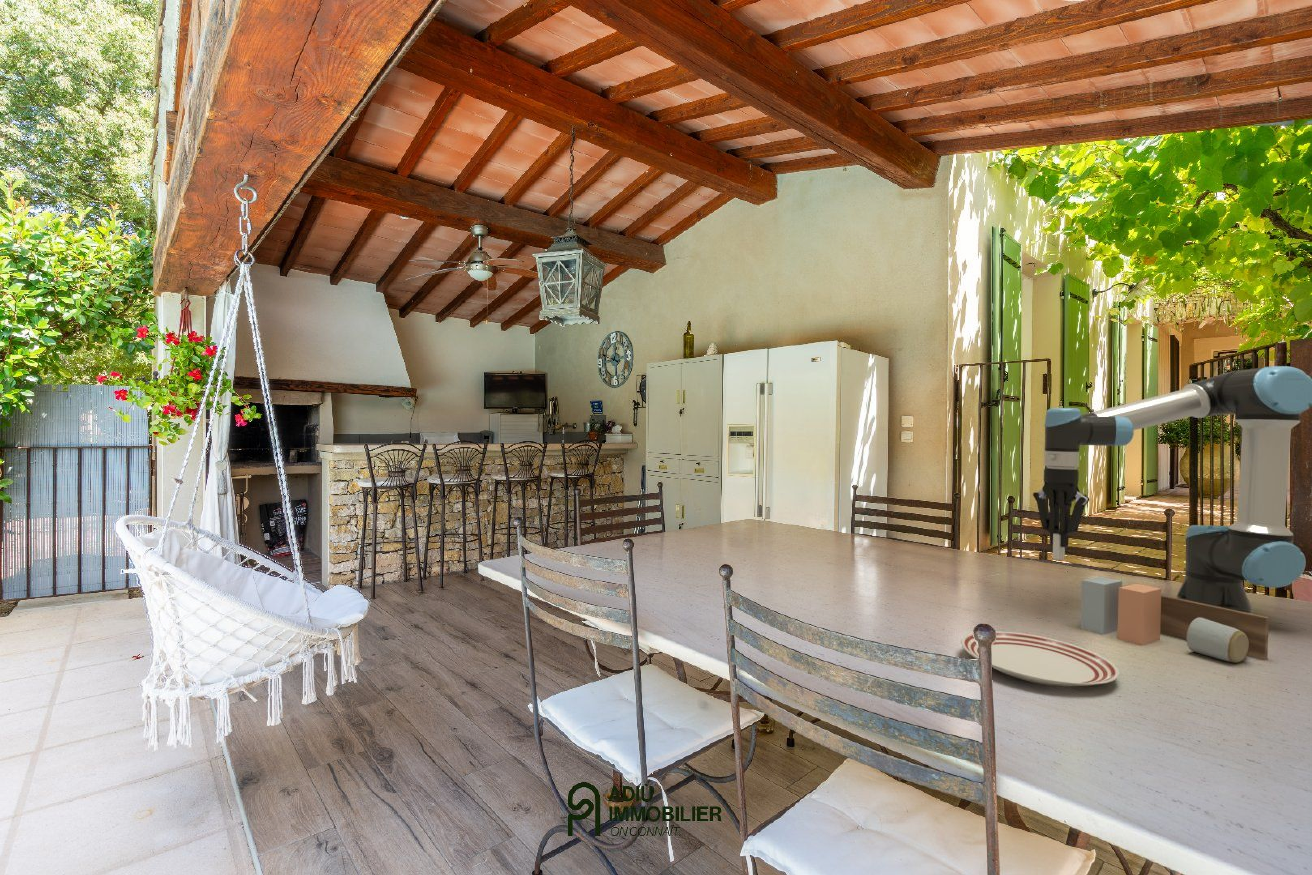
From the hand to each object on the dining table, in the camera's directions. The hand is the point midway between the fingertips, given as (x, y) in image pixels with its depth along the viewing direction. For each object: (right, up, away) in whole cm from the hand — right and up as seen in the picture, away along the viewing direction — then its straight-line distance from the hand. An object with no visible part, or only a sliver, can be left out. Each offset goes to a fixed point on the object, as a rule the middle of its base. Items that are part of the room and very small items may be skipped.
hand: (1058, 558), depth 159 cm
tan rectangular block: (+8, -16, -16) cm, 24 cm away
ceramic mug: (+18, -16, -26) cm, 35 cm away
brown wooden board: (+19, -16, -14) cm, 28 cm away
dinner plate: (-26, -16, -33) cm, 45 cm away
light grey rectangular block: (+5, -16, -9) cm, 18 cm away
